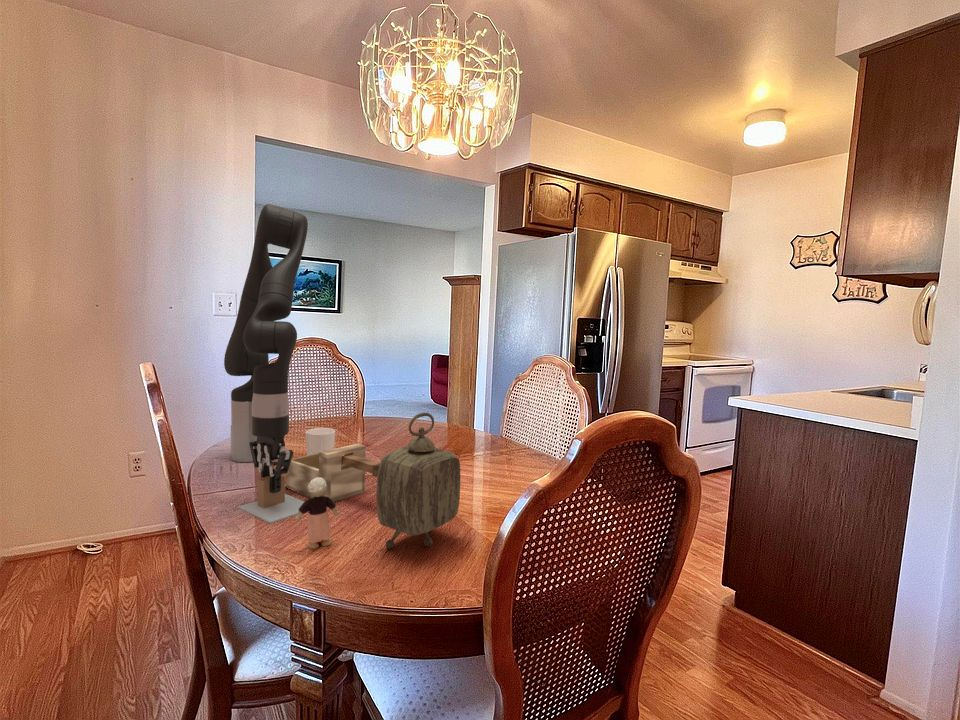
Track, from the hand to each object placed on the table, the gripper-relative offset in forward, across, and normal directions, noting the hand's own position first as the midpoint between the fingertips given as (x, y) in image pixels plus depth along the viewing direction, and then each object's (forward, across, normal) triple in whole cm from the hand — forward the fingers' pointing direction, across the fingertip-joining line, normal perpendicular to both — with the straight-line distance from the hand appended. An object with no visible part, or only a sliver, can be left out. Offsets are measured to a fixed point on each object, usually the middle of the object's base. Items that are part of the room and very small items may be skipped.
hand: (270, 489), depth 113 cm
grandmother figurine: (+4, -24, +5) cm, 24 cm away
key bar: (-4, -14, -14) cm, 20 cm away
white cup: (+4, +16, -25) cm, 30 cm away
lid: (+4, -2, 0) cm, 5 cm away
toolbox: (+4, -1, -14) cm, 14 cm away
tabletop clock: (+4, -38, -8) cm, 39 cm away
